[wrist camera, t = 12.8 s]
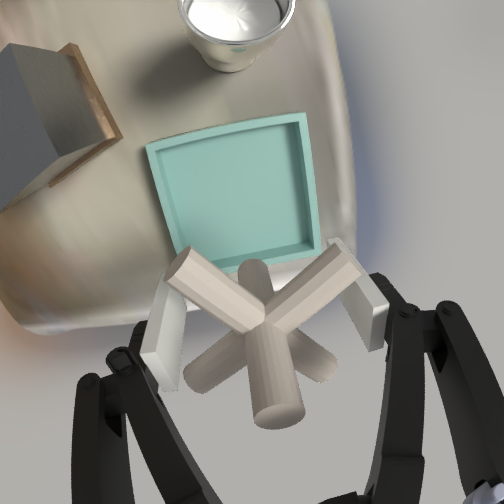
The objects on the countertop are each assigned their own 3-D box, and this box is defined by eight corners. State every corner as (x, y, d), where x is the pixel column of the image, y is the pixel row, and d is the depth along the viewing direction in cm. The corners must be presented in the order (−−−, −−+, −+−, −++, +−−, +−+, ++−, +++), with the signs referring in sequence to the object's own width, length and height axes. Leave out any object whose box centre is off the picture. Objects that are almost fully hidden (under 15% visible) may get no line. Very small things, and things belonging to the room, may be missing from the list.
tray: (151, 141, 29) (144, 145, 26) (297, 111, 29) (305, 112, 26) (188, 268, 36) (185, 281, 34) (314, 242, 36) (321, 254, 34)
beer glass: (270, 24, 24) (309, -33, 11) (255, 82, 27) (285, 62, 14) (204, 12, 23) (192, -54, 10) (188, 70, 26) (160, 40, 13)
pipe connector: (361, 265, 19) (441, 381, 10) (252, 353, 21) (269, 478, 13) (253, 152, 15) (300, 225, 6) (137, 275, 18) (88, 413, 9)
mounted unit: (16, 97, 24) (-57, 108, 12) (77, 45, 22) (9, 26, 11) (58, 182, 29) (-7, 225, 18) (123, 137, 28) (67, 159, 17)
